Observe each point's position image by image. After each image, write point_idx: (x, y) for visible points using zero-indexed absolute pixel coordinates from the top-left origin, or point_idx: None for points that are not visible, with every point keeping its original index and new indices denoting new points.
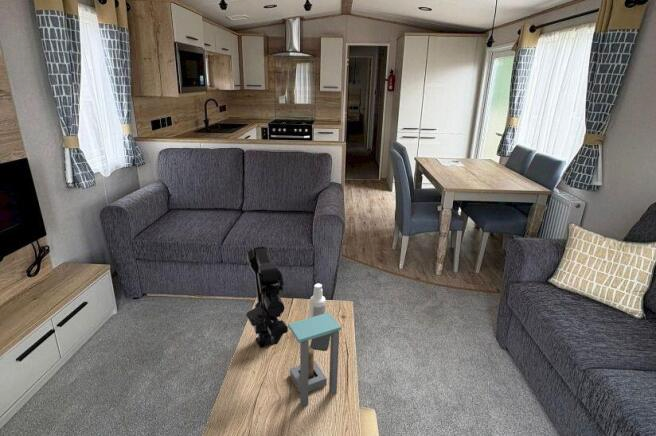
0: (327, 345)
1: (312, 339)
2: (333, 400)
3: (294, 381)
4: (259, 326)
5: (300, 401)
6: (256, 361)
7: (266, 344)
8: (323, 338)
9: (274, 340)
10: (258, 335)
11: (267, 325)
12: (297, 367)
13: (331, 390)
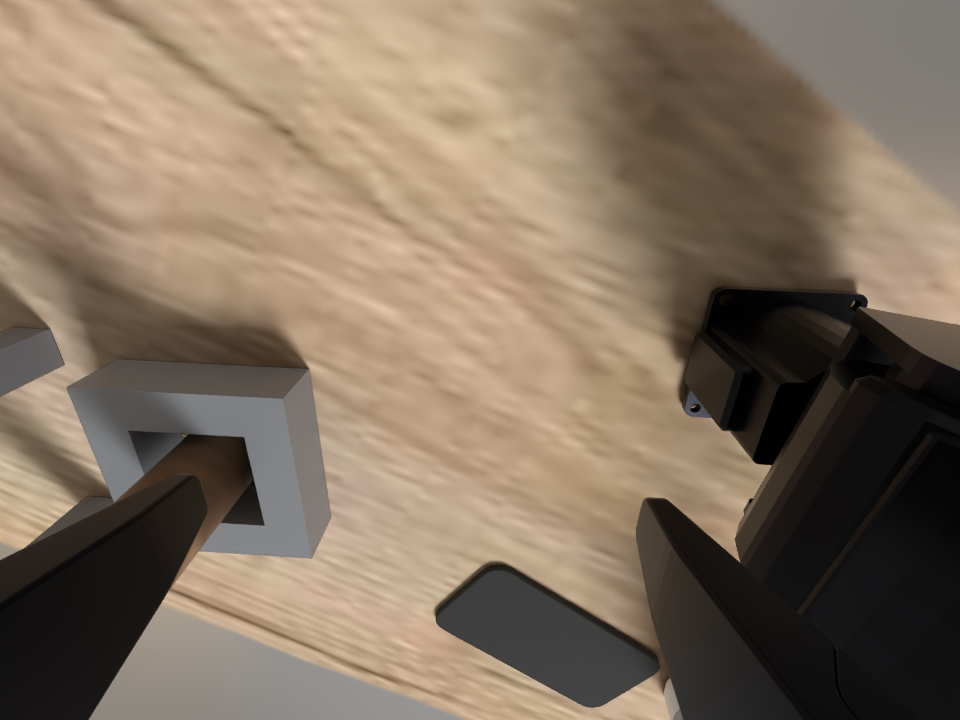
0: (463, 636)
1: (558, 604)
2: (47, 486)
3: (217, 371)
4: (888, 421)
5: (39, 332)
6: (575, 191)
7: (699, 348)
8: (530, 646)
9: (21, 559)
10: (842, 329)
11: (675, 606)
12: (279, 448)
13: (64, 518)
